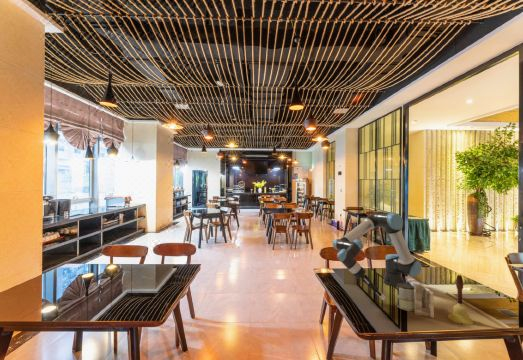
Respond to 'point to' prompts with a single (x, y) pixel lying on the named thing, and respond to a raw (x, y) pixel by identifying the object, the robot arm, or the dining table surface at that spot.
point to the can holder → (422, 298)
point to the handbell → (460, 306)
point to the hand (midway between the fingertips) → (384, 298)
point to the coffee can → (405, 296)
